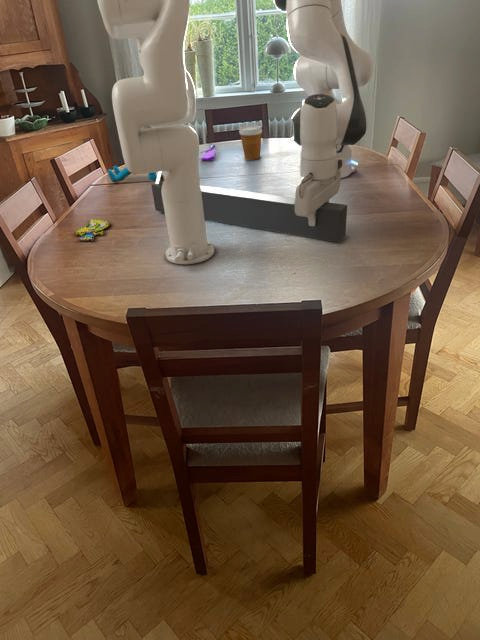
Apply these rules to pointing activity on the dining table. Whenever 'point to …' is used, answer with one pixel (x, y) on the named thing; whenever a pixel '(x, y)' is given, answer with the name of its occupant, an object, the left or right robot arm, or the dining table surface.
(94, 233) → the toy
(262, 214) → the beam
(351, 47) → the right robot arm
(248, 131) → the beer cup
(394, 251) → the dining table surface
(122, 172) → the toy
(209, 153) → the musical instrument
